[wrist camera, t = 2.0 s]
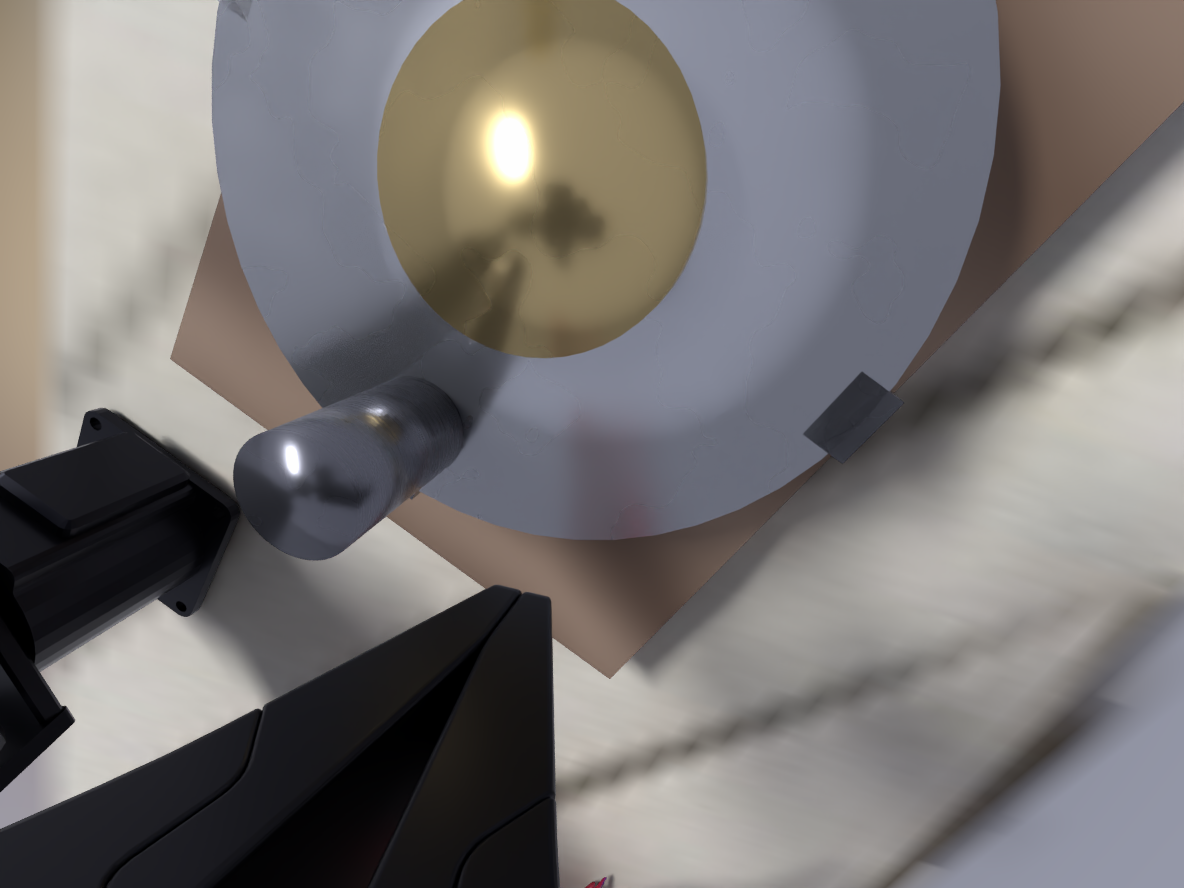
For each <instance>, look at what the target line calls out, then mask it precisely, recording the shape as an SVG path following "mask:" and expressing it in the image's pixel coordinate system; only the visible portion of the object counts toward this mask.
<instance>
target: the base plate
mask: <svg viewBox="0 0 1184 888" xmlns="http://www.w3.org/2000/svg"><path fill="white" fill-rule="evenodd" d="M996 5H997V11H998V30H999V57H1000V84H1001V86H1000V97H999V107H998V117H997V128H996V138H995V148H994V157H993V161H992V166H991V170H990V174H989V179H988V183H987V187H986V192H985V196H984V201H983V205H982V209H981V214H980V218H979V222H978V225H977V227H976V230H975V233H974V236H973V238H972V241H971V244H970V247H969V249H968V252H967V255H966V257H965V260H964V263H963V266H962V268H961V271H960V274H959V277H958V279H957V282H956V284H955V286H954V288H953V290H952V292H951V294H950V296H949V298H948V299H947V301H946V303H945V305H944V307H943V309H942V311H941V313H940V315H939V317H938V319H937V321H936V323H935V325H934V327H933V329H932V331H931V333H930V335H929V336H928V338H927V339H926V341H925V342H924V344H923V345H922V347H921V348H920V350H919V351H918V353H917V354H916V355H915V357H914V358H913V360H912V361H911V363H910V364H909V366H908V367H907V369H906V370H905V372H904V373H903V375H902V376H901V378H900V379H899V380H898V382H897V383H896V385H895V386H894V387H893V388H892V389H891V391H892V392H893V393H895V392H896V391H897V390H898V389H899V388H900V387H901V386H902V385H903V384H904V383H905V382H906V381H907V380H908V379H909V378H910V377H911V376H912V375H913V374H914V373H915V372H916V371H917V370H918V369H919V368H920V367H921V366H922V365H923V364H924V363H925V362H926V361H927V360H928V359H929V358H930V357H931V356H932V355H933V354H934V352H935V351H936V350H937V349H938V348H939V347H940V346H941V345H942V344H943V343H944V342H945V341H946V340H947V339H948V338H949V337H950V336H951V335H952V334H953V333H954V332H955V331H956V330H957V329H958V328H959V327H960V326H961V325H962V324H963V323H964V322H965V321H966V320H967V319H968V318H969V317H970V316H971V315H972V314H973V313H974V312H975V311H976V310H977V309H978V308H979V307H980V306H981V305H982V304H983V303H984V302H985V301H986V300H987V299H988V298H989V297H990V296H991V295H992V294H993V293H994V292H995V291H996V290H997V289H998V288H999V287H1000V286H1001V285H1002V284H1003V283H1004V282H1005V281H1006V280H1007V279H1008V278H1009V277H1010V276H1011V275H1012V274H1013V273H1014V272H1015V271H1016V270H1017V269H1018V268H1019V267H1020V266H1021V265H1022V264H1023V263H1024V262H1025V261H1026V260H1027V259H1028V258H1029V257H1030V256H1031V255H1032V254H1033V253H1034V252H1035V251H1036V250H1037V249H1038V248H1039V247H1040V246H1041V245H1042V244H1043V243H1044V242H1045V241H1046V240H1047V239H1048V238H1049V237H1050V236H1051V235H1052V234H1053V233H1054V232H1055V231H1056V230H1057V229H1058V228H1059V227H1060V226H1061V225H1062V224H1063V223H1064V222H1065V221H1066V220H1067V219H1068V218H1069V217H1070V216H1071V215H1072V214H1073V213H1074V212H1075V211H1076V210H1077V209H1078V208H1079V207H1080V206H1081V205H1082V204H1083V203H1084V202H1085V201H1086V200H1087V199H1088V198H1089V197H1090V196H1091V195H1092V194H1093V193H1094V192H1095V191H1096V190H1097V189H1098V188H1099V187H1100V186H1101V185H1102V183H1103V182H1104V181H1105V180H1106V179H1107V178H1108V177H1109V176H1110V175H1111V174H1112V173H1113V172H1114V171H1115V170H1116V169H1117V168H1118V167H1119V166H1120V165H1121V164H1122V163H1123V162H1124V161H1125V160H1126V159H1127V158H1128V157H1129V156H1130V155H1131V154H1132V153H1133V152H1134V151H1135V150H1136V149H1137V148H1138V147H1139V146H1140V145H1141V144H1142V143H1143V142H1144V141H1145V140H1146V139H1147V138H1148V137H1149V136H1150V135H1151V134H1152V133H1153V132H1154V131H1155V130H1156V129H1157V128H1158V127H1159V126H1160V125H1161V124H1162V123H1163V122H1164V121H1165V120H1166V119H1167V118H1168V117H1169V116H1170V115H1171V114H1172V113H1173V112H1174V111H1175V110H1176V109H1177V108H1178V107H1179V106H1180V105H1181V104H1182V103H1183V102H1184V0H996ZM170 359H171V360H172V361H174V362H175V363H176V364H178V365H179V366H181V367H182V368H183V369H185V370H186V371H187V372H189V373H190V374H192V375H193V376H194V377H196V378H197V379H198V380H200V381H201V382H203V383H204V384H205V385H207V386H208V387H209V388H211V389H212V390H213V391H215V392H216V393H218V394H219V395H220V396H222V397H223V398H224V399H226V400H227V401H229V402H230V403H231V404H233V405H234V406H235V407H237V408H238V409H240V410H241V411H242V412H244V413H245V414H246V415H248V416H249V417H251V418H252V419H253V420H255V421H256V422H257V423H259V424H260V425H262V426H263V427H264V428H266V429H267V430H270V429H273V428H275V427H278V426H280V425H283V424H285V423H287V422H290V421H292V420H295V419H297V418H300V417H302V416H305V415H307V414H309V413H312V412H314V411H317V410H319V409H322V407H321V406H320V404H319V403H318V402H317V401H316V399H315V398H314V397H313V396H312V395H311V393H310V392H309V391H308V390H307V388H306V387H305V386H304V385H303V383H302V382H301V380H300V379H299V377H298V376H297V374H296V373H295V371H294V370H293V368H292V367H291V365H290V364H289V362H288V361H287V359H286V358H285V356H284V354H283V353H282V351H281V350H280V348H279V347H278V345H277V343H276V341H275V339H274V337H273V335H272V333H271V331H270V330H269V328H268V326H267V324H266V322H265V320H264V318H263V316H262V314H261V313H260V311H259V309H258V306H257V304H256V301H255V299H254V297H253V294H252V292H251V289H250V287H249V284H248V282H247V280H246V277H245V275H244V272H243V270H242V267H241V265H240V261H239V258H238V255H237V251H236V248H235V245H234V241H233V238H232V235H231V232H230V228H229V225H228V222H227V217H226V212H225V207H224V202H223V197H222V193H221V195H220V198H219V202H218V205H217V208H216V211H215V215H214V218H213V221H212V224H211V228H210V231H209V234H208V237H207V241H206V244H205V247H204V250H203V254H202V257H201V260H200V263H199V267H198V270H197V273H196V276H195V280H194V283H193V286H192V289H191V293H190V296H189V299H188V303H187V306H186V309H185V312H184V316H183V319H182V322H181V325H180V329H179V332H178V335H177V338H176V342H175V345H174V348H173V351H172V355H171V358H170ZM830 457H831V455H830V454H827V455H826V456H825V457H824V458H823V459H822V460H820V461H819V462H817V463H816V464H814V465H813V466H811V467H810V468H809V469H807V470H806V471H804V472H803V473H801V474H800V475H798V476H797V477H796V478H794V479H793V480H791V481H790V482H788V483H787V484H785V485H784V486H783V487H781V488H779V489H777V490H775V491H774V492H772V493H770V494H768V495H766V496H764V497H762V498H760V499H758V500H756V501H755V502H753V503H751V504H749V505H747V506H745V507H743V508H741V509H739V510H736V511H734V512H731V513H729V514H726V515H723V516H721V517H718V518H715V519H713V520H710V521H707V522H705V523H702V524H699V525H696V526H692V527H688V528H684V529H679V530H675V531H671V532H667V533H663V534H659V535H653V536H645V537H636V538H627V539H619V540H572V539H564V538H556V537H548V536H540V535H533V534H529V533H525V532H521V531H517V530H513V529H509V528H505V527H501V526H497V525H494V524H491V523H488V522H486V521H483V520H480V519H478V518H475V517H472V516H470V515H467V514H464V513H462V512H459V511H457V510H455V509H453V508H451V507H449V506H447V505H445V504H443V503H441V502H439V501H437V500H435V499H433V498H431V497H429V496H427V495H425V494H423V493H422V492H421V493H419V494H418V495H417V496H416V497H415V498H413V499H412V500H411V499H410V498H409V499H407V500H406V501H405V502H404V503H402V504H401V505H400V506H399V507H397V508H396V509H395V510H394V511H392V512H391V513H390V514H389V515H387V517H388V518H389V519H391V520H392V521H393V522H395V523H396V524H397V525H399V526H400V527H402V528H403V529H404V530H406V531H407V532H408V533H410V534H411V535H413V536H414V537H415V538H417V539H418V540H419V541H421V542H422V543H424V544H425V545H426V546H428V547H429V548H430V549H432V550H433V551H435V552H436V553H437V554H439V555H440V556H441V557H443V558H444V559H446V560H447V561H448V562H450V563H451V564H452V565H454V566H455V567H457V568H458V569H459V570H461V571H462V572H463V573H465V574H466V575H468V576H469V577H470V578H472V579H473V580H474V581H476V582H477V583H479V584H480V585H481V586H483V587H484V588H485V589H487V588H489V587H491V586H493V585H502V586H506V587H510V588H515V589H518V590H520V591H521V592H522V594H523V593H524V592H531V593H535V594H539V595H544V596H548V597H549V598H550V599H551V604H552V637H553V638H554V639H555V640H557V641H558V642H560V643H561V644H562V645H564V646H565V647H566V648H568V649H569V650H570V651H572V652H573V653H575V654H576V655H577V656H579V657H580V658H581V659H583V660H584V661H586V662H587V663H588V664H590V665H591V666H592V667H594V668H595V669H597V670H598V671H599V672H601V673H602V674H603V675H605V676H606V677H608V678H609V679H610V678H611V677H612V676H613V675H614V674H615V673H616V672H617V671H618V670H619V669H620V668H621V667H622V666H623V665H624V664H625V663H626V662H627V661H628V660H629V659H630V658H631V657H632V656H633V655H634V654H635V653H636V652H637V651H638V650H639V649H640V648H641V647H642V646H643V645H644V644H645V643H646V642H647V641H648V640H649V639H650V638H651V637H652V636H653V635H654V634H655V633H656V632H657V631H658V630H659V629H660V628H661V627H662V626H663V625H664V624H665V623H666V622H667V621H668V620H669V619H670V618H671V617H672V616H673V615H674V614H675V613H676V612H677V611H678V610H679V609H680V608H681V607H682V606H683V605H684V604H685V603H686V602H687V601H688V600H689V599H690V598H691V597H692V596H693V595H694V594H695V593H696V592H697V591H698V590H699V589H700V588H701V587H702V586H703V585H704V584H705V583H706V582H707V581H708V580H709V579H710V578H711V577H712V576H713V575H714V574H715V573H716V572H717V571H718V570H719V569H720V568H721V567H722V566H723V565H724V564H725V563H726V562H727V561H728V560H729V559H730V558H731V557H732V556H733V555H734V554H735V553H736V552H737V551H738V550H739V549H740V548H741V547H742V546H743V545H744V544H745V543H746V542H747V541H748V540H749V539H750V538H751V537H752V536H753V535H754V534H755V533H756V532H757V531H758V530H759V529H760V528H761V527H762V526H763V525H764V524H765V522H766V521H767V520H768V519H769V518H770V517H771V516H772V515H773V514H774V513H775V512H776V511H777V510H778V509H779V508H780V507H781V506H782V505H783V504H784V503H785V502H786V501H787V500H788V499H789V498H790V497H791V496H792V495H793V494H794V493H795V492H796V491H797V490H798V489H799V488H800V487H801V486H802V485H803V484H804V483H805V482H806V481H807V480H808V479H809V478H810V477H811V476H812V475H813V474H814V473H815V472H816V471H817V470H818V469H819V468H820V467H821V466H822V465H823V464H824V463H825V462H826V461H827V460H828V459H829V458H830Z"/></svg>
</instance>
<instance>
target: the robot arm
mask: <svg viewBox="0 0 1184 888" xmlns="http://www.w3.org/2000/svg"><path fill="white" fill-rule="evenodd" d="M239 516H240V510H239V507H238V505H237V504H236V503H235V502H234V501H233V500H232V499H231V498H230V497H228V496H227V495H225V494H224V493H223V492H221V491H220V490H219V489H217V488H216V487H214V486H213V485H212V484H210V483H209V482H208V481H206V480H205V479H203V478H202V477H201V476H199V475H198V474H197V473H195V472H194V471H192V470H191V469H190V468H188V467H187V466H185V465H184V464H183V463H181V462H180V461H179V460H177V459H176V458H174V457H173V456H172V455H170V454H169V453H168V452H166V451H165V450H163V449H162V448H161V447H159V446H158V445H157V444H155V443H154V442H152V441H151V440H150V439H148V438H147V437H145V436H144V435H143V434H141V433H140V432H139V431H137V430H136V429H134V428H133V427H132V426H130V425H129V424H128V423H126V422H125V421H123V420H122V419H121V418H119V417H118V416H117V415H115V414H114V413H112V412H111V411H110V410H108V409H106V408H98V409H95V410H91V411H88V412H86V414H85V416H84V419H83V424H82V428H81V432H80V436H79V440H78V444H77V447H76V448H73V449H70V450H67V451H63V452H60V453H57V454H54V455H51V456H48V457H44V458H41V459H38V460H35V461H32V462H29V463H25V464H22V465H19V466H16V467H13V468H9V469H6V470H3V471H0V792H1V791H2V790H3V789H4V788H5V787H6V786H8V784H10V783H11V782H12V781H13V780H14V779H15V778H16V777H17V776H18V775H19V774H20V773H21V772H22V771H23V770H24V769H26V767H28V766H29V765H30V764H31V763H32V762H33V761H34V760H35V759H36V758H37V757H38V756H39V755H40V754H41V753H42V752H44V751H45V750H46V749H47V748H48V747H49V746H50V745H51V744H52V743H53V742H54V741H55V740H56V739H57V738H58V737H59V736H61V735H62V734H63V733H64V732H65V731H66V730H67V729H68V728H69V727H70V726H71V725H72V724H73V723H74V722H75V719H74V717H73V716H72V714H71V713H70V711H69V709H68V708H67V706H61V705H60V703H59V701H58V700H57V698H56V697H55V695H54V694H53V692H52V691H51V689H50V687H49V686H48V684H47V683H46V681H45V680H44V678H43V677H42V675H41V673H40V672H41V671H42V670H44V669H45V668H47V667H49V666H50V665H52V664H53V663H55V662H57V661H58V660H60V659H61V658H63V657H65V656H66V655H68V654H69V653H71V652H73V651H74V650H76V649H77V648H79V647H81V646H82V645H84V644H85V643H87V642H89V641H90V640H92V639H94V638H95V637H97V636H98V635H100V634H102V633H103V632H105V631H106V630H108V629H110V628H111V627H113V626H114V625H116V624H118V623H119V622H121V621H122V620H124V619H126V618H127V617H129V616H130V615H132V614H134V613H135V612H137V611H138V610H140V609H142V608H143V607H145V606H146V605H148V604H150V603H151V602H153V601H154V600H156V599H158V600H159V601H161V602H162V603H163V604H165V605H166V606H168V607H169V608H170V609H172V610H173V611H174V612H176V613H177V614H179V615H181V616H183V617H188V616H190V615H192V614H193V613H195V612H196V611H198V610H199V608H200V607H201V604H202V602H203V600H204V597H205V595H206V593H207V590H208V588H209V586H210V583H211V581H212V579H213V577H214V574H215V572H216V570H217V567H218V565H219V563H220V560H221V558H222V556H223V553H224V551H225V549H226V546H227V544H228V542H229V539H230V537H231V535H232V533H233V530H234V528H235V526H236V523H237V521H238V519H239ZM555 796H556V785H555V739H554V694H553V648H552V604H551V599H550V598H549V597H548V596H544V595H539V594H535V593H531V592H524V593H523V594H522V592H521V591H520V590H518V589H515V588H510V587H506V586H502V585H493V586H491V587H489V588H487V589H485V590H483V591H481V592H479V593H477V594H475V595H473V596H472V597H470V598H468V599H466V600H464V601H462V602H460V603H458V604H456V605H454V606H452V607H451V608H449V609H447V610H445V611H443V612H441V613H439V614H437V615H435V616H433V617H431V618H429V619H428V620H426V621H424V622H422V623H420V624H418V625H416V626H414V627H412V628H410V629H408V630H407V631H405V632H403V633H401V634H399V635H397V636H395V637H393V638H391V639H389V640H387V641H386V642H384V643H382V644H380V645H378V646H376V647H374V648H372V649H370V650H368V651H366V652H364V653H363V654H361V655H359V656H357V657H355V658H353V659H351V660H349V661H347V662H345V663H343V664H342V665H340V666H338V667H336V668H334V669H332V670H330V671H328V672H326V673H324V674H322V675H321V676H319V677H317V678H315V679H313V680H311V681H309V682H307V683H305V684H303V685H301V686H300V687H298V688H296V689H294V690H292V691H290V692H288V693H286V694H284V695H282V696H280V697H278V698H277V699H275V700H273V701H271V702H269V703H267V704H265V705H264V707H263V710H260V709H255V710H253V711H251V712H249V713H247V714H245V715H244V716H242V717H240V718H238V719H236V720H234V721H232V722H230V723H228V724H226V725H224V726H223V727H221V728H219V729H217V730H215V731H213V732H211V733H209V734H207V735H205V736H203V737H201V738H199V739H197V740H195V741H193V742H191V743H189V744H187V745H185V746H183V747H181V748H179V749H177V750H175V751H173V752H171V753H169V754H167V755H164V756H162V757H160V758H158V759H156V760H153V761H151V762H149V763H147V764H145V765H143V766H140V767H138V768H136V769H134V770H132V771H130V772H127V773H125V774H123V775H121V776H119V777H117V778H114V779H112V780H110V781H108V782H106V783H103V784H101V785H99V786H97V787H95V788H92V789H90V790H88V791H86V792H83V793H81V794H79V795H77V796H74V797H72V798H70V799H67V800H65V801H63V802H61V803H58V804H56V805H54V806H52V807H49V808H47V809H45V810H43V811H40V812H38V813H36V814H34V815H31V816H29V817H27V818H24V819H22V820H20V821H18V822H15V823H13V824H11V825H9V826H7V827H4V828H2V829H0V888H560V880H559V863H558V846H557V815H556V801H555Z"/></svg>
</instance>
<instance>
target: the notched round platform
mask: <svg viewBox="0 0 1184 888" xmlns="http://www.w3.org/2000/svg"><path fill="white" fill-rule="evenodd" d="M218 1H219V6H218V11H217V21H216V31H215V41H214V51H213V61H212V124H213V134H214V144H215V154H216V164H217V173H218V178H219V183H220V188H221V193H222V197H223V202H224V207H225V212H226V217H227V222H228V225H229V228H230V232H231V235H232V238H233V241H234V245H235V248H236V251H237V255H238V258H239V261H240V265H241V267H242V270H243V272H244V275H245V277H246V280H247V282H248V284H249V287H250V289H251V292H252V294H253V297H254V299H255V301H256V304H257V306H258V309H259V311H260V313H261V314H262V316H263V318H264V320H265V322H266V324H267V326H268V328H269V330H270V331H271V333H272V335H273V337H274V339H275V341H276V343H277V345H278V347H279V348H280V350H281V351H282V353H283V354H284V356H285V358H286V359H287V361H288V362H289V364H290V365H291V367H292V368H293V370H294V371H295V373H296V374H297V376H298V377H299V379H300V380H301V382H302V383H303V385H304V386H305V387H306V388H307V390H308V391H309V392H310V393H311V395H312V396H313V397H314V398H315V399H316V401H317V402H318V403H319V404H320V406H321V407H322V409H319V410H317V411H314V412H312V413H309V414H307V415H305V416H302V417H300V418H297V419H295V420H292V421H290V422H287V423H285V424H283V425H280V426H278V427H275V428H273V429H270V430H268V431H265V432H263V433H261V434H258V435H256V436H254V437H252V438H251V439H249V440H248V441H247V442H246V443H245V444H244V445H243V447H242V448H241V449H240V451H239V453H238V455H237V457H236V460H235V464H234V470H233V480H234V488H235V492H236V496H237V499H238V502H239V504H240V506H241V509H242V511H243V513H244V514H245V516H246V518H247V519H248V521H249V522H250V523H251V525H252V526H253V527H254V529H255V530H256V531H257V532H258V533H259V534H260V535H261V536H262V537H263V538H264V539H265V540H266V541H268V542H269V543H270V544H271V545H273V546H274V547H276V548H277V549H279V550H281V551H283V552H284V553H286V554H289V555H291V556H294V557H297V558H300V559H305V560H325V559H328V558H332V557H334V556H336V555H338V554H339V553H341V552H342V551H344V550H345V549H346V548H347V547H349V546H350V545H351V544H352V543H354V542H355V541H356V540H357V539H359V538H360V537H361V536H362V535H364V534H365V533H366V532H367V531H369V530H370V529H371V528H372V527H374V526H375V525H376V524H377V523H379V522H380V521H381V520H382V519H384V518H385V517H386V516H387V515H389V514H390V513H391V512H392V511H394V510H395V509H396V508H397V507H399V506H400V505H401V504H402V503H404V502H405V501H406V500H407V499H409V498H410V499H411V500H412V499H413V498H415V497H416V496H417V495H418V494H419V493H421V492H422V493H423V494H425V495H427V496H429V497H431V498H433V499H435V500H437V501H439V502H441V503H443V504H445V505H447V506H449V507H451V508H453V509H455V510H457V511H459V512H462V513H464V514H467V515H470V516H472V517H475V518H478V519H480V520H483V521H486V522H488V523H491V524H494V525H497V526H501V527H505V528H509V529H513V530H517V531H521V532H525V533H529V534H533V535H540V536H548V537H556V538H564V539H572V540H619V539H627V538H636V537H645V536H653V535H659V534H663V533H667V532H671V531H675V530H679V529H684V528H688V527H692V526H696V525H699V524H702V523H705V522H707V521H710V520H713V519H715V518H718V517H721V516H723V515H726V514H729V513H731V512H734V511H736V510H739V509H741V508H743V507H745V506H747V505H749V504H751V503H753V502H755V501H756V500H758V499H760V498H762V497H764V496H766V495H768V494H770V493H772V492H774V491H775V490H777V489H779V488H781V487H783V486H784V485H785V484H787V483H788V482H790V481H791V480H793V479H794V478H796V477H797V476H798V475H800V474H801V473H803V472H804V471H806V470H807V469H809V468H810V467H811V466H813V465H814V464H816V463H817V462H819V461H820V460H822V459H823V458H824V457H825V456H826V455H827V454H830V455H831V456H832V457H834V458H835V459H836V460H838V461H839V462H840V463H842V464H843V463H844V462H845V461H846V460H847V459H848V458H849V457H850V456H851V455H852V454H853V453H854V452H855V451H856V450H857V449H858V448H859V447H860V446H861V445H862V444H863V443H864V442H865V441H866V440H867V439H868V438H869V437H870V436H871V435H872V434H873V433H874V432H875V431H876V430H877V429H878V428H879V427H880V426H881V425H882V424H883V423H884V422H885V421H886V420H887V419H888V418H889V417H890V416H891V415H892V414H893V413H894V412H895V411H896V410H897V409H898V408H900V407H901V406H902V405H903V404H904V402H903V401H902V400H901V399H900V398H899V397H897V396H896V395H895V394H894V393H893V392H892V391H891V389H892V388H893V387H894V386H895V385H896V383H897V382H898V380H899V379H900V378H901V376H902V375H903V373H904V372H905V370H906V369H907V367H908V366H909V364H910V363H911V361H912V360H913V358H914V357H915V355H916V354H917V353H918V351H919V350H920V348H921V347H922V345H923V344H924V342H925V341H926V339H927V338H928V336H929V335H930V333H931V331H932V329H933V327H934V325H935V323H936V321H937V319H938V317H939V315H940V313H941V311H942V309H943V307H944V305H945V303H946V301H947V299H948V298H949V296H950V294H951V292H952V290H953V288H954V286H955V284H956V282H957V279H958V277H959V274H960V271H961V268H962V266H963V263H964V260H965V257H966V255H967V252H968V249H969V247H970V244H971V241H972V238H973V236H974V233H975V230H976V227H977V225H978V222H979V218H980V214H981V209H982V205H983V201H984V196H985V192H986V187H987V183H988V179H989V174H990V170H991V166H992V161H993V157H994V148H995V138H996V128H997V117H998V107H999V97H1000V86H1001V84H1000V57H999V30H998V11H997V5H996V0H218Z"/></svg>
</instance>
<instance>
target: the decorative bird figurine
mask: <svg viewBox="0 0 1184 888" xmlns="http://www.w3.org/2000/svg"><path fill="white" fill-rule="evenodd" d="M605 880H606V877H604V878H603V879H602V880H601V881H600V882H599V883H598V885H597V886H596V887H595V882H592V883H590V884H589V885H588V886H586V887H585V888H602V885H603V884H604V881H605Z"/></svg>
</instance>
